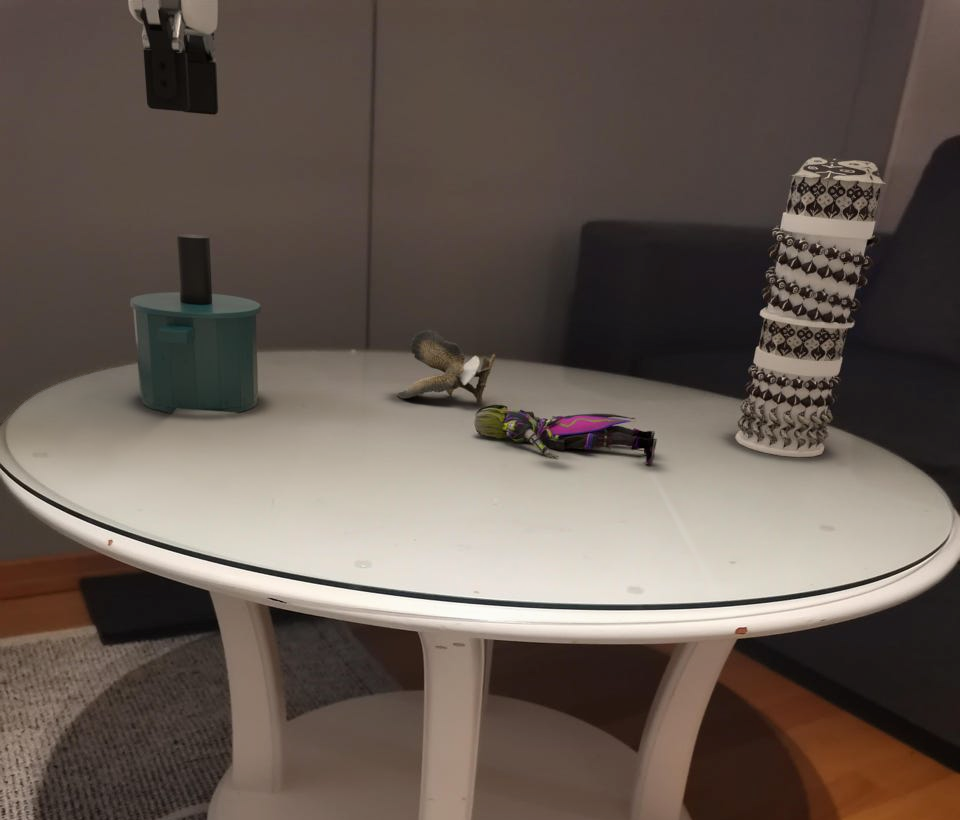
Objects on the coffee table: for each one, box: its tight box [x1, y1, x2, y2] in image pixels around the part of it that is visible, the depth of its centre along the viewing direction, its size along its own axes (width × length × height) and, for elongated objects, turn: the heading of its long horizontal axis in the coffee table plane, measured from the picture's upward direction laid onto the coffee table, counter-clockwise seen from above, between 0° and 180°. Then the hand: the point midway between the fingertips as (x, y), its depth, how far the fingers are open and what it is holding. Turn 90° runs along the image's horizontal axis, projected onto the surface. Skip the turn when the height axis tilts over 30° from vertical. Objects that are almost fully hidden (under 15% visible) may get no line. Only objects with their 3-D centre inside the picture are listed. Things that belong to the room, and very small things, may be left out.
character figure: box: [474, 404, 658, 466], centre depth 86 cm, size 9×4×16 cm
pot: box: [132, 308, 259, 414], centre depth 91 cm, size 11×16×8 cm, turn 0°
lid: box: [130, 233, 262, 319], centre depth 88 cm, size 11×11×7 cm
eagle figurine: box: [396, 329, 496, 406], centre depth 99 cm, size 8×7×9 cm
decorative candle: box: [734, 156, 887, 458], centre depth 89 cm, size 9×9×25 cm
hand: (184, 111), depth 82 cm, fingers open, 9 cm apart
